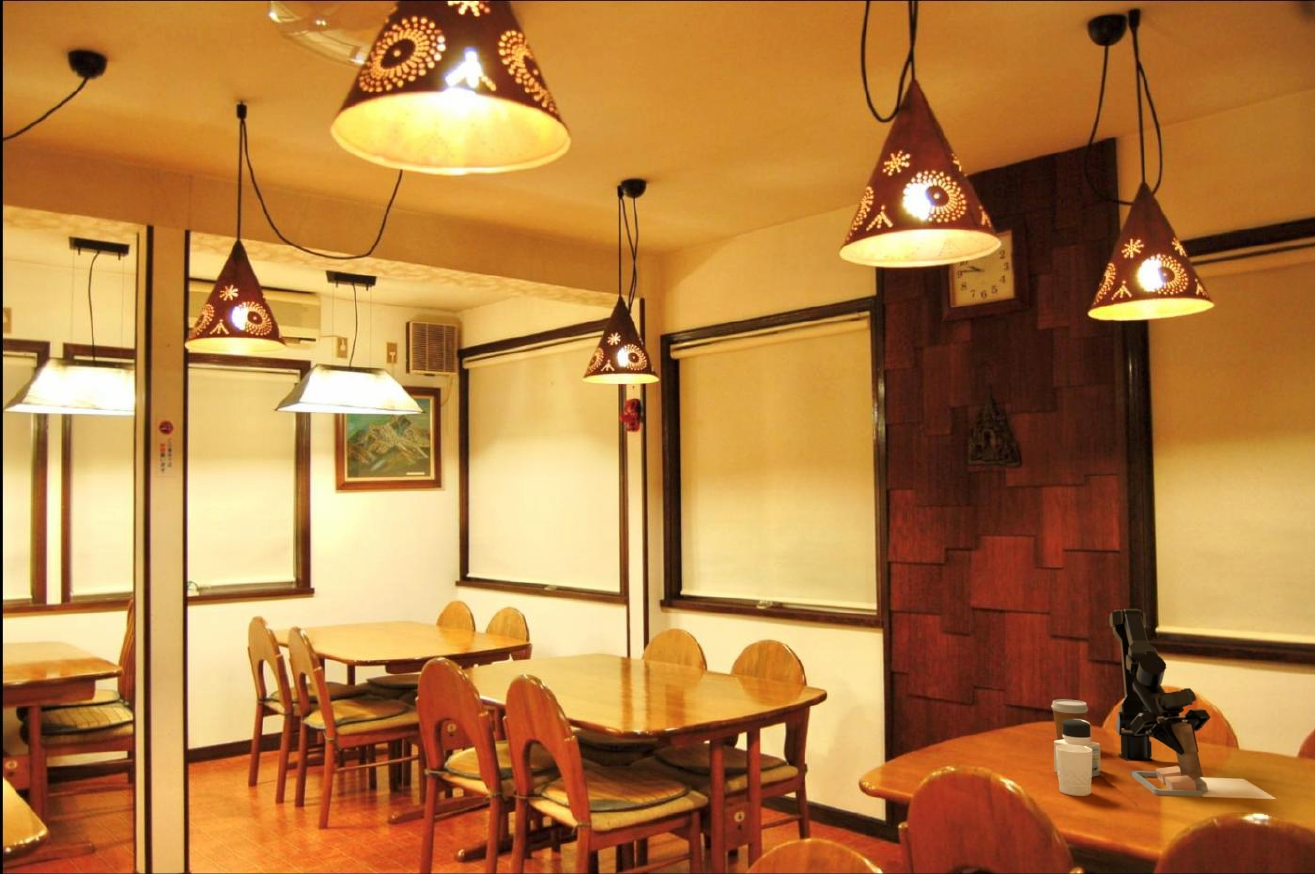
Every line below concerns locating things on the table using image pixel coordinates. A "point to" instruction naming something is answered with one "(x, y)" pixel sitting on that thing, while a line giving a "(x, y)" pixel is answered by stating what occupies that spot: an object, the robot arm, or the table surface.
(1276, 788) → the table surface
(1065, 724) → the container
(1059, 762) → the white cup
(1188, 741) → the upright brown post
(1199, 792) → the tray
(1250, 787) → the board
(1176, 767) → the tile
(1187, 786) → the tile
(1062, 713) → the disposable coffee cup
